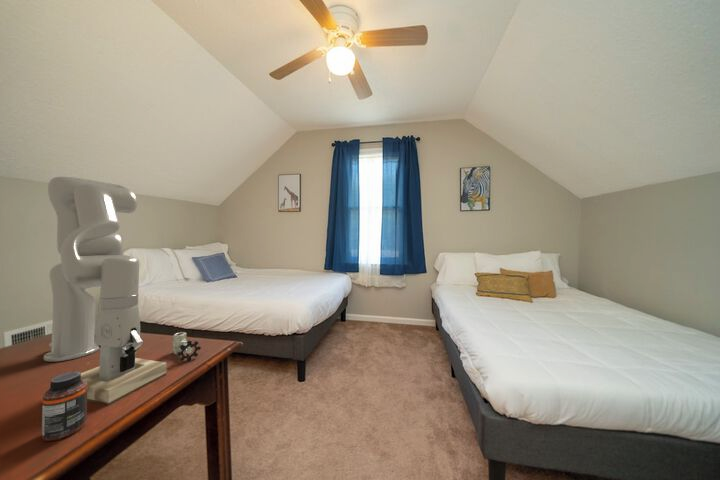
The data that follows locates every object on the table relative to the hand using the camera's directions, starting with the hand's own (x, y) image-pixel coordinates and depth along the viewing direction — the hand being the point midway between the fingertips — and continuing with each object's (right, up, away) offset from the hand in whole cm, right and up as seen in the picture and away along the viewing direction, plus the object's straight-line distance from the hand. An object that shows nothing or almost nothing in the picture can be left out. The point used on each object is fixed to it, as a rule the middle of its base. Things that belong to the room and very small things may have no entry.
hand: (117, 367), depth 67 cm
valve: (+6, -5, +17) cm, 19 cm away
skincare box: (0, -4, 0) cm, 4 cm away
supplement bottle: (+6, -5, -17) cm, 18 cm away
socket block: (0, -5, 0) cm, 5 cm away
